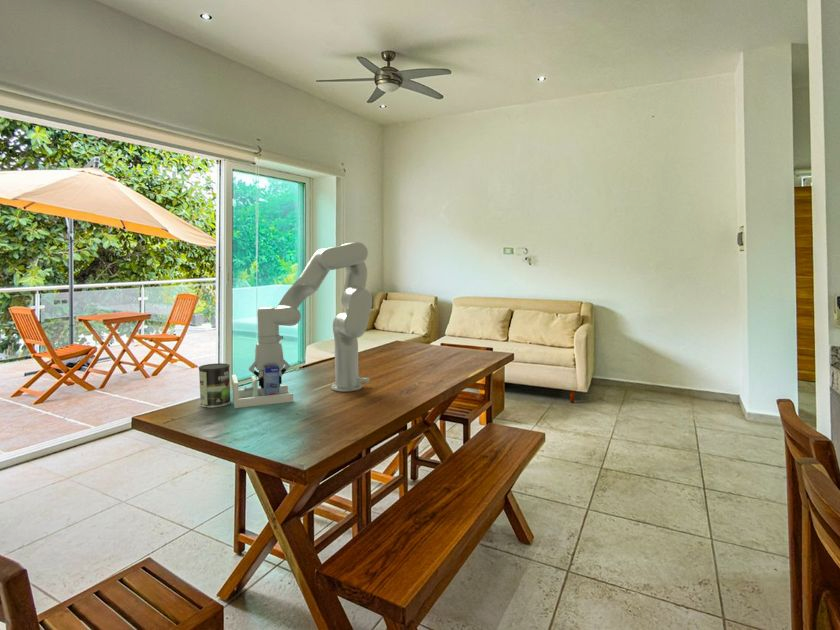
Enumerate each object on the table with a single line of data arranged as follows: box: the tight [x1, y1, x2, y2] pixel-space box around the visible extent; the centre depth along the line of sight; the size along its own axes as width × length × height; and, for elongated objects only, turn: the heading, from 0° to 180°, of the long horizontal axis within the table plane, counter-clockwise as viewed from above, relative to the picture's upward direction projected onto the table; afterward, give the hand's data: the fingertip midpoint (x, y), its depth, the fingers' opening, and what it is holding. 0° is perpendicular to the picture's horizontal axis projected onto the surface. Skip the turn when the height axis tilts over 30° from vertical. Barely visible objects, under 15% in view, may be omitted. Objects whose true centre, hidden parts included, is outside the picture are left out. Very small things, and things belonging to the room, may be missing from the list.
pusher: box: [243, 375, 259, 397], centre depth 172 cm, size 4×11×8 cm, turn 25°
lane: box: [231, 374, 294, 409], centre depth 174 cm, size 20×14×9 cm
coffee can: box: [198, 362, 231, 409], centre depth 168 cm, size 10×10×14 cm
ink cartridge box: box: [261, 366, 279, 396], centre depth 175 cm, size 10×6×14 cm, turn 27°
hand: (270, 386), depth 175 cm, fingers closed on ink cartridge box, 5 cm apart
